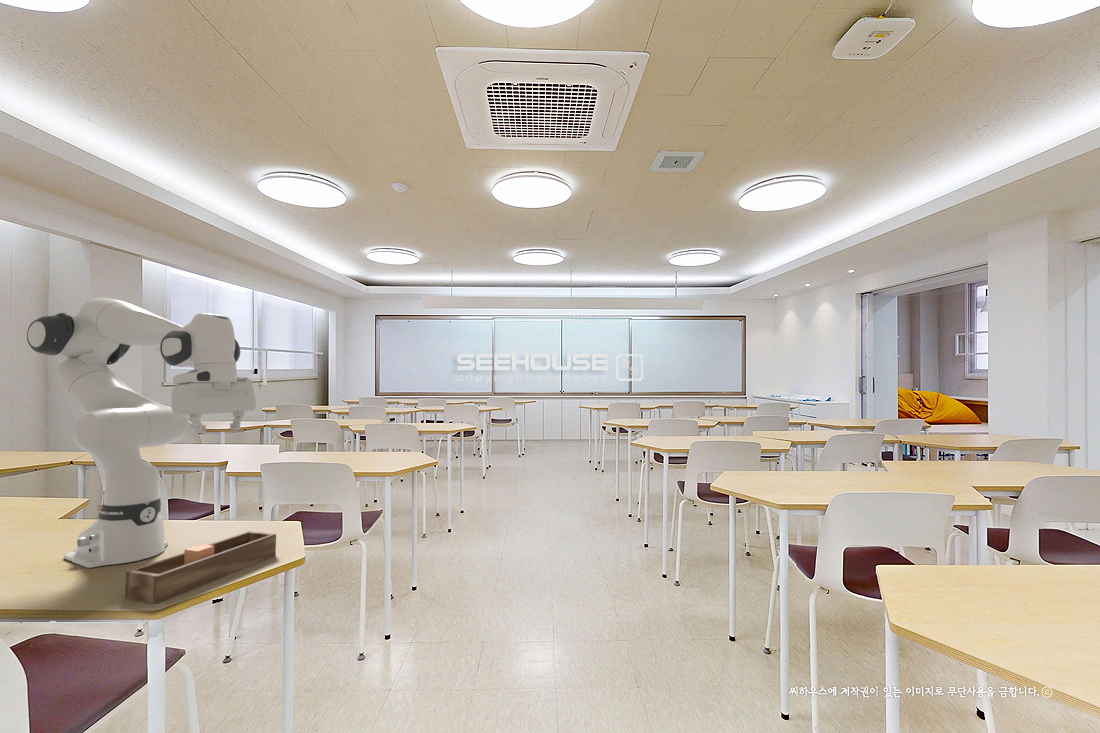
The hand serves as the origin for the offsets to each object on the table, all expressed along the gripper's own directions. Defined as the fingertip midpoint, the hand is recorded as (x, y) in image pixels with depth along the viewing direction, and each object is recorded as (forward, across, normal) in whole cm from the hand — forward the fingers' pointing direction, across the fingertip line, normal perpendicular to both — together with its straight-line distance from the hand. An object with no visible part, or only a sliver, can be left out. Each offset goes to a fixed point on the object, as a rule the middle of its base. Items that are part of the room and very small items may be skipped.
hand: (218, 431), depth 122 cm
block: (+30, +7, 0) cm, 31 cm away
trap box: (+34, +4, 0) cm, 34 cm away
